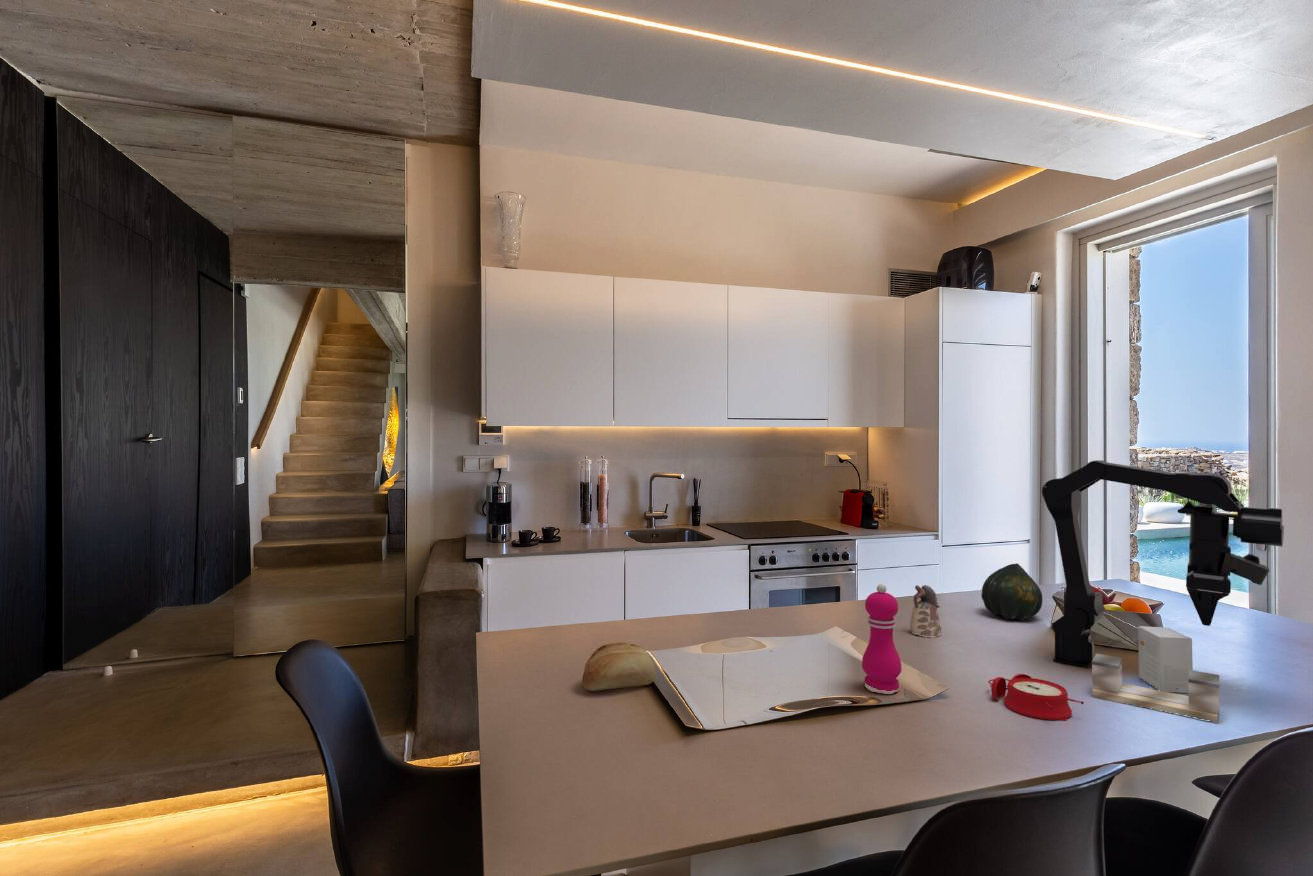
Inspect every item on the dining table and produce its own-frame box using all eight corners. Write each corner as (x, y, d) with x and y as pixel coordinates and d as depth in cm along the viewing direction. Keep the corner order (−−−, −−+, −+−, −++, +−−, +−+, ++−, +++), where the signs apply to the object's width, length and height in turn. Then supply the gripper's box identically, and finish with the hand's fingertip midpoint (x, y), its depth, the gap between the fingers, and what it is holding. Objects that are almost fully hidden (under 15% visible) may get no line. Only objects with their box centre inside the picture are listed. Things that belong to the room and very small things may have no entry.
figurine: (946, 638, 158) (946, 588, 158) (916, 637, 158) (916, 588, 158) (934, 629, 165) (934, 582, 165) (905, 629, 165) (905, 582, 165)
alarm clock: (1047, 706, 108) (977, 658, 122) (1039, 739, 109) (971, 688, 123) (1092, 698, 112) (1019, 652, 125) (1084, 730, 113) (1013, 682, 127)
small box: (1193, 694, 122) (1193, 638, 123) (1160, 692, 124) (1159, 636, 124) (1169, 679, 130) (1169, 626, 130) (1137, 677, 131) (1137, 625, 131)
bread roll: (573, 684, 127) (573, 643, 127) (643, 672, 134) (643, 633, 134) (591, 702, 118) (591, 658, 118) (664, 688, 125) (664, 646, 125)
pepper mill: (907, 688, 125) (907, 584, 125) (892, 699, 120) (892, 590, 120) (871, 679, 130) (871, 578, 130) (855, 689, 125) (855, 584, 125)
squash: (980, 601, 172) (1020, 559, 171) (963, 591, 187) (1000, 552, 186) (1024, 639, 170) (1065, 597, 169) (1004, 626, 185) (1041, 587, 183)
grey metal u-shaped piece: (1091, 696, 121) (1091, 662, 121) (1097, 684, 127) (1097, 652, 127) (1219, 724, 110) (1219, 686, 110) (1219, 709, 116) (1219, 673, 116)
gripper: (1270, 551, 113) (1267, 641, 113) (1262, 538, 127) (1260, 618, 127) (1187, 542, 120) (1184, 627, 120) (1188, 532, 134) (1186, 607, 134)
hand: (1206, 620), depth 125 cm, fingers open, 9 cm apart
